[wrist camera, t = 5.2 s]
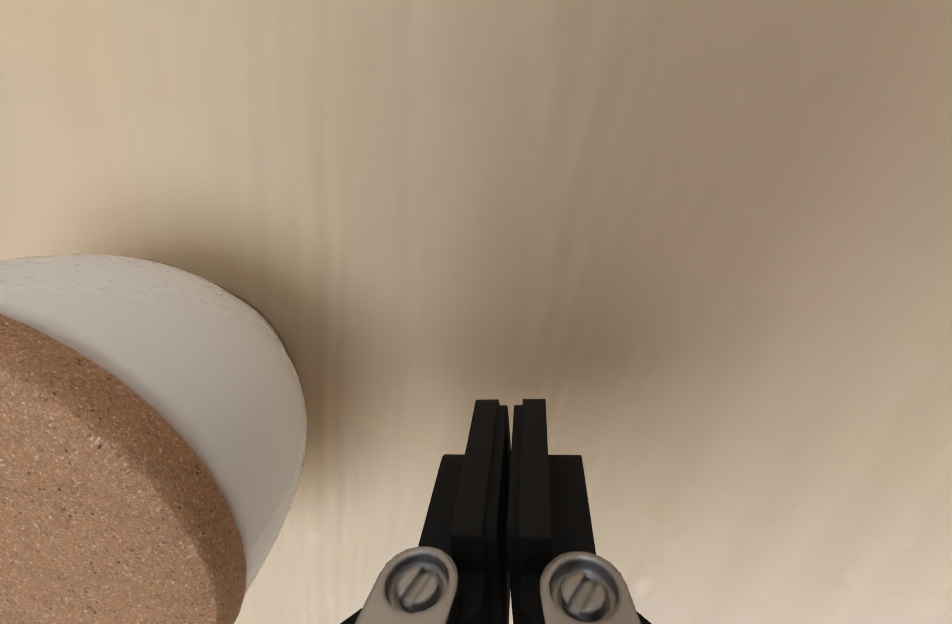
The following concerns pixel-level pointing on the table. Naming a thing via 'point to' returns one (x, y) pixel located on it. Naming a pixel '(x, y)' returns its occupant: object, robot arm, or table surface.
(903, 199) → the table surface
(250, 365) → the trinket box
